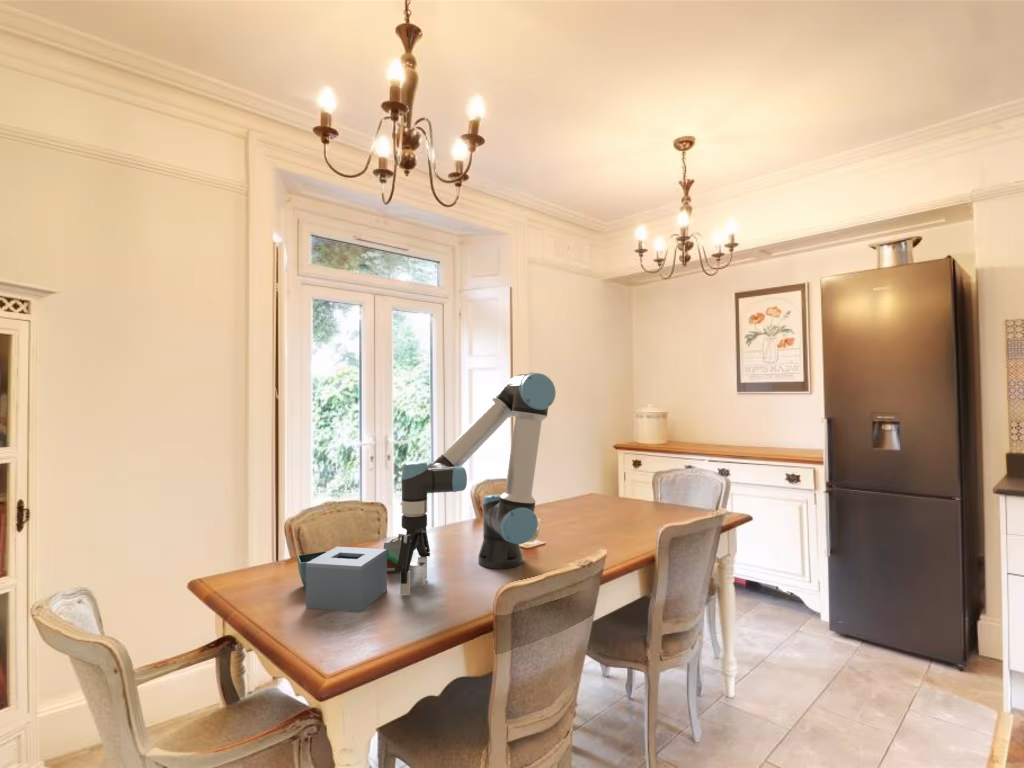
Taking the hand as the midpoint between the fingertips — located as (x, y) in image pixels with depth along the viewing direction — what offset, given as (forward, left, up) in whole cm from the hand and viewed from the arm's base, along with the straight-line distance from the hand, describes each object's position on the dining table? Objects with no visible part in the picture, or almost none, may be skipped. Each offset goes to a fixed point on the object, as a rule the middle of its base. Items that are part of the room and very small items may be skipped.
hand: (414, 586), depth 157 cm
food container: (+11, -15, -1) cm, 19 cm away
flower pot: (+30, +5, -1) cm, 30 cm away
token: (0, 0, 0) cm, 0 cm away
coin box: (+15, +12, 0) cm, 19 cm away
